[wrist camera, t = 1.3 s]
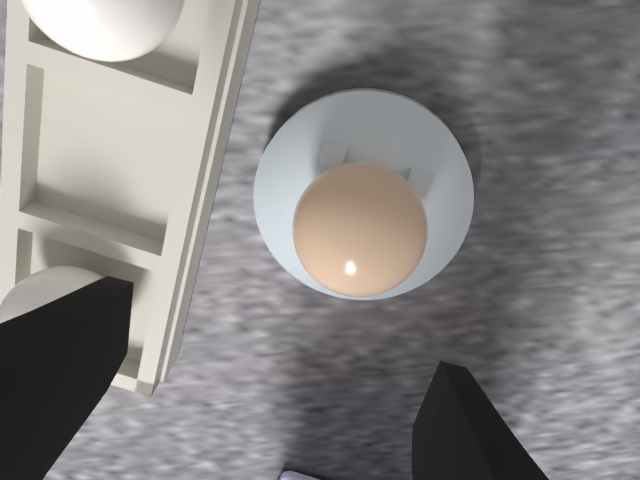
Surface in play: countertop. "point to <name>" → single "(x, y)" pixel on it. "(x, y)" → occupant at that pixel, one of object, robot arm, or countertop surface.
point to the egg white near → (106, 25)
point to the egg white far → (44, 289)
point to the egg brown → (360, 229)
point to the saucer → (375, 147)
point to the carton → (121, 165)
